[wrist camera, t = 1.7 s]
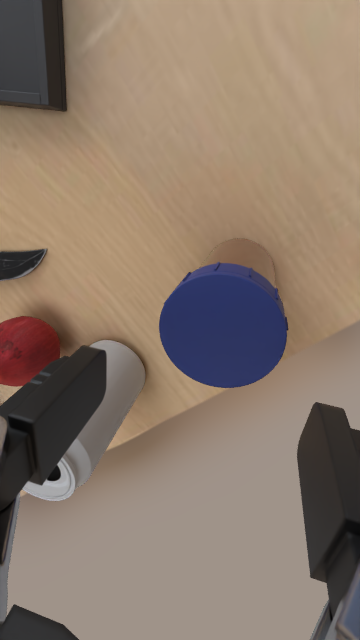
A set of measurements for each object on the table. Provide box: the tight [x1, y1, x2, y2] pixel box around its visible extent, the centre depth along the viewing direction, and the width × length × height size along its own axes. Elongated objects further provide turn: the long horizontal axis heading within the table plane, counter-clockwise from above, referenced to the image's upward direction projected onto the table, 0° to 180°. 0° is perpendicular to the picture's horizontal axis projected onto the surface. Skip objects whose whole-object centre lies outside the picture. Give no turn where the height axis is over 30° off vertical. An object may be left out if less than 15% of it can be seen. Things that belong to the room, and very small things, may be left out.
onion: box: [0, 316, 60, 386], centre depth 26 cm, size 6×6×8 cm
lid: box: [159, 262, 288, 388], centre depth 15 cm, size 6×6×2 cm
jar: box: [199, 239, 276, 288], centre depth 19 cm, size 5×5×10 cm
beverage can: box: [22, 340, 145, 501], centre depth 24 cm, size 6×6×12 cm
